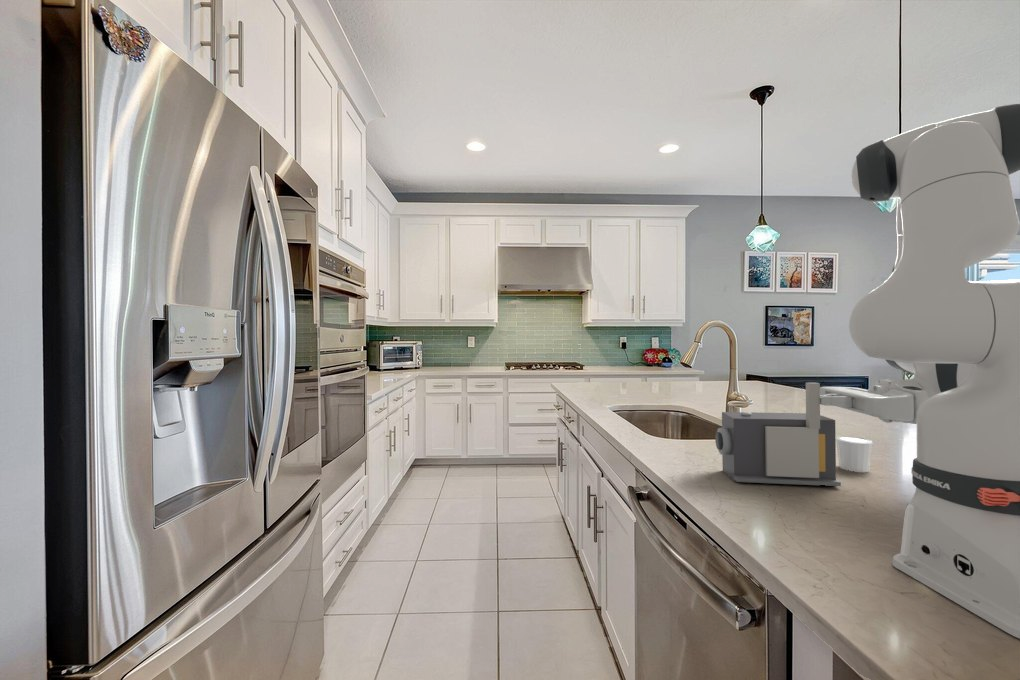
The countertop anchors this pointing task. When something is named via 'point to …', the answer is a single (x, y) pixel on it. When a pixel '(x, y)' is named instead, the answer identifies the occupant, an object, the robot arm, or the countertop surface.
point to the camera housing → (747, 447)
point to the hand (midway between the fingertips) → (818, 400)
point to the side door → (796, 443)
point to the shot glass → (854, 453)
